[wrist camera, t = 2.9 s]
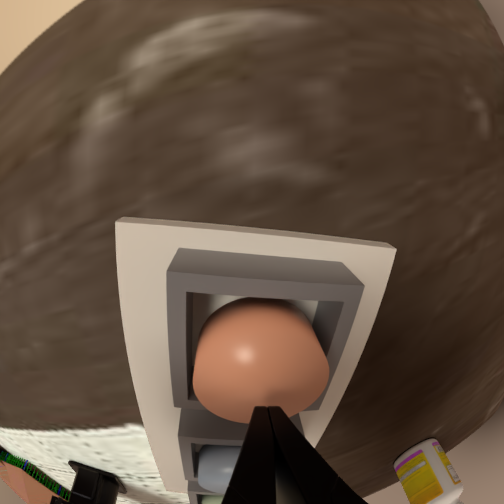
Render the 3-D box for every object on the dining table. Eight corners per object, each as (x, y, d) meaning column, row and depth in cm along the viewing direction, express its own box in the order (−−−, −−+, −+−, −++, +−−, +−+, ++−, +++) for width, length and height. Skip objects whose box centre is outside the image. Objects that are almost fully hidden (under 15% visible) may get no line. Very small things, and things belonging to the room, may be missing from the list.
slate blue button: (267, 468, 16) (271, 493, 13) (199, 466, 15) (199, 493, 13) (280, 436, 14) (286, 467, 12) (198, 435, 14) (196, 467, 11)
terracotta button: (299, 385, 12) (310, 421, 10) (197, 382, 12) (193, 420, 10) (325, 299, 11) (346, 332, 9) (199, 291, 10) (192, 326, 8)
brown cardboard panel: (15, 445, 21) (0, 480, 13) (129, 521, 32) (126, 547, 24) (-29, 429, 22) (-41, 452, 14) (66, 505, 33) (60, 526, 25)
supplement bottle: (385, 470, 24) (413, 538, 12) (403, 447, 22) (440, 525, 10) (423, 454, 25) (454, 515, 13) (443, 429, 23) (482, 496, 11)
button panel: (282, 487, 22) (287, 511, 19) (167, 483, 21) (164, 508, 18) (386, 242, 13) (425, 268, 10) (123, 216, 12) (89, 238, 8)
